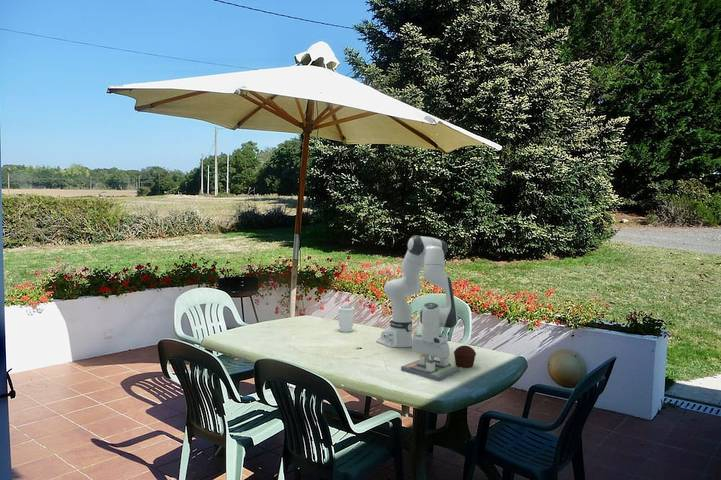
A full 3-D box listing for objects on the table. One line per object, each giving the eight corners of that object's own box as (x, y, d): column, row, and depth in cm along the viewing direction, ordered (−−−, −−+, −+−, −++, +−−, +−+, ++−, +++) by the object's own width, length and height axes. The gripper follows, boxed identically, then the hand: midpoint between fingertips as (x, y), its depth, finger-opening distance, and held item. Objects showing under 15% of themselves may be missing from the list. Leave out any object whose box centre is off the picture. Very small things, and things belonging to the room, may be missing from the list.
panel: (401, 370, 260) (401, 364, 260) (423, 361, 274) (423, 356, 274) (438, 381, 246) (438, 375, 245) (459, 371, 260) (460, 366, 260)
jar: (336, 329, 340) (336, 306, 339) (351, 328, 344) (351, 305, 342) (340, 333, 330) (340, 309, 329) (356, 332, 333) (356, 308, 332)
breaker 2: (439, 364, 261) (440, 355, 261) (443, 363, 264) (443, 354, 263) (444, 366, 259) (445, 357, 259) (448, 364, 262) (448, 355, 261)
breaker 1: (425, 370, 253) (426, 361, 252) (429, 369, 255) (429, 359, 255) (431, 372, 251) (431, 362, 250) (434, 370, 253) (435, 361, 253)
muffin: (460, 360, 278) (460, 342, 277) (479, 365, 271) (480, 346, 270) (449, 366, 268) (449, 346, 268) (468, 370, 261) (469, 351, 261)
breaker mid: (419, 364, 262) (419, 355, 262) (423, 362, 265) (423, 353, 264) (424, 365, 260) (424, 356, 260) (428, 363, 263) (428, 354, 262)
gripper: (409, 333, 264) (409, 360, 265) (444, 341, 250) (443, 369, 251) (416, 331, 269) (416, 358, 270) (451, 338, 255) (450, 366, 256)
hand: (429, 363), depth 260 cm, fingers closed
